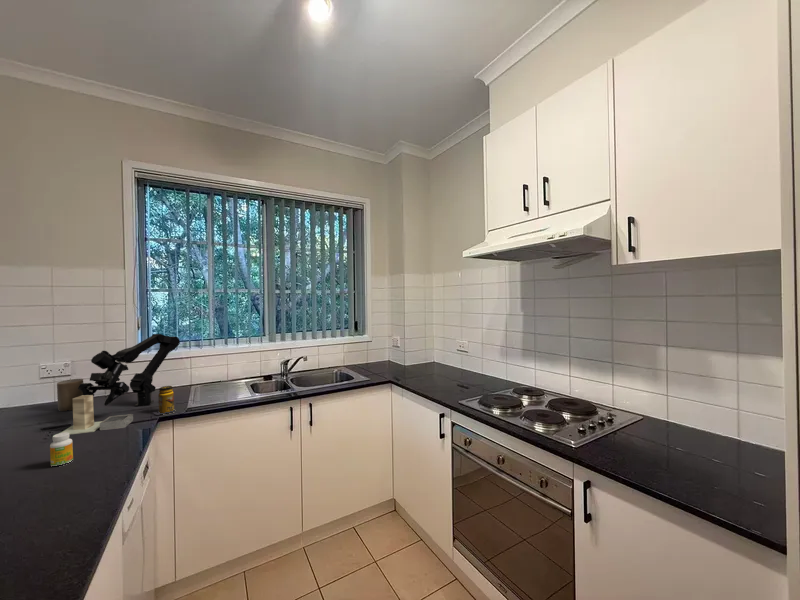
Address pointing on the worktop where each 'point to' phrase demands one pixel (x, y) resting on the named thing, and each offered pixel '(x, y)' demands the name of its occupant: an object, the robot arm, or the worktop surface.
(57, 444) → the supplement bottle
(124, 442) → the worktop surface
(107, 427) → the collar
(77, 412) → the block
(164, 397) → the condiment
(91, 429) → the mat
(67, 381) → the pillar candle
